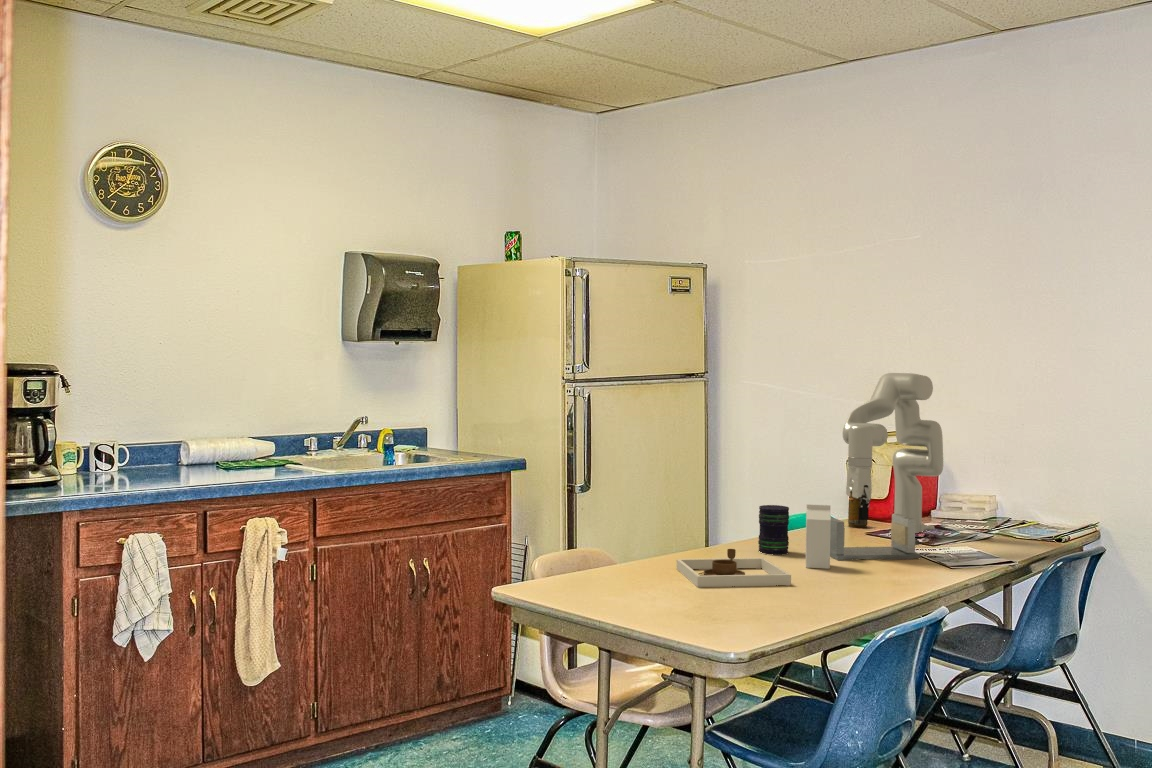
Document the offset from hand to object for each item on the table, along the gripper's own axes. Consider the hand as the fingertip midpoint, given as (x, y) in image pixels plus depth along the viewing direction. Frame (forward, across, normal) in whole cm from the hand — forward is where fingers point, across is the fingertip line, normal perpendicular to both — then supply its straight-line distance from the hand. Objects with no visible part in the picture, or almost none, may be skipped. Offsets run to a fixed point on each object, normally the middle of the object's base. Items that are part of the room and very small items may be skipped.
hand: (859, 517), depth 343 cm
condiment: (+3, +1, 0) cm, 3 cm away
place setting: (+13, +29, -51) cm, 60 cm away
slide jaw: (+11, 0, +17) cm, 20 cm away
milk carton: (+13, +16, -20) cm, 28 cm away
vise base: (+12, 0, +4) cm, 13 cm away
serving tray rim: (+13, +29, -51) cm, 60 cm away
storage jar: (+13, -8, -26) cm, 30 cm away
